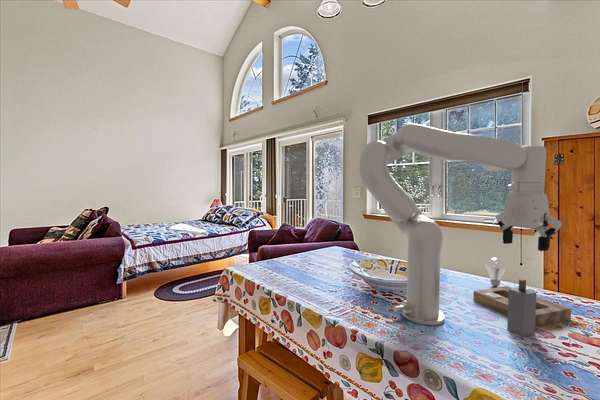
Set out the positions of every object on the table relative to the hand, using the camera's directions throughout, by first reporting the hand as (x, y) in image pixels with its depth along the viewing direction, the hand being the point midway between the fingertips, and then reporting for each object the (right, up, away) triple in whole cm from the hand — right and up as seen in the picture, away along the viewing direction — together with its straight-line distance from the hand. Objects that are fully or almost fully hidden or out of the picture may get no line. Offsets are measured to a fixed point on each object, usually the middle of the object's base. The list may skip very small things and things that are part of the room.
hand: (524, 246), depth 82 cm
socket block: (+7, -23, +11) cm, 27 cm away
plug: (-3, -24, -3) cm, 24 cm away
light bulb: (+14, -22, +32) cm, 41 cm away
